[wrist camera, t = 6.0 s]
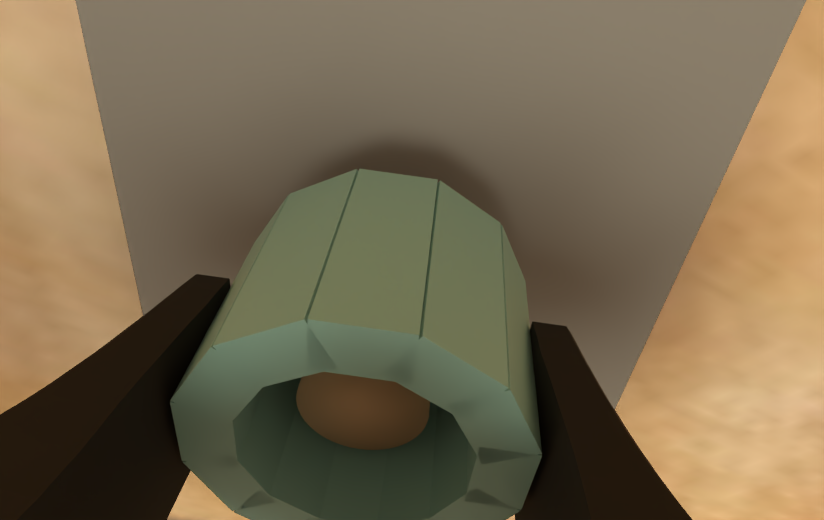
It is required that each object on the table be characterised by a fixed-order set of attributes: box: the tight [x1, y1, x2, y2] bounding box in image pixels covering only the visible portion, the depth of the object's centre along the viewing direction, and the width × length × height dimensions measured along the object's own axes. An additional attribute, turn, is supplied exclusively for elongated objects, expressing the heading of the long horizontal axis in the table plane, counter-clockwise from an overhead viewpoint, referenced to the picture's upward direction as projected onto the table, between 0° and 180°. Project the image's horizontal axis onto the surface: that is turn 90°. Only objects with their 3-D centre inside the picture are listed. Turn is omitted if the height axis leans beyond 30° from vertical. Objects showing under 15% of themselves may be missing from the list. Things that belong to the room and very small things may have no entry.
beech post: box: [296, 372, 430, 450], centre depth 12 cm, size 2×2×5 cm
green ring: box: [170, 169, 542, 520], centre depth 11 cm, size 5×5×4 cm
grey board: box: [76, 0, 806, 410], centre depth 14 cm, size 13×13×1 cm
